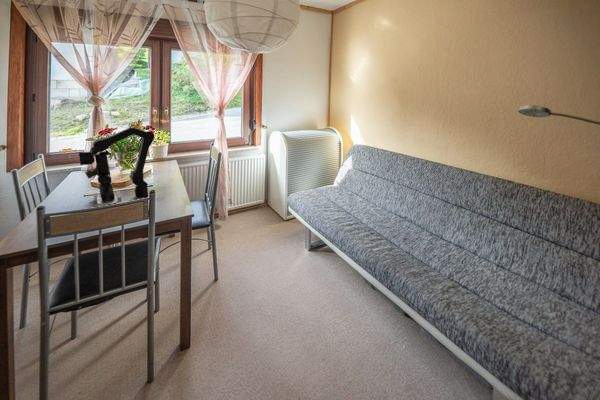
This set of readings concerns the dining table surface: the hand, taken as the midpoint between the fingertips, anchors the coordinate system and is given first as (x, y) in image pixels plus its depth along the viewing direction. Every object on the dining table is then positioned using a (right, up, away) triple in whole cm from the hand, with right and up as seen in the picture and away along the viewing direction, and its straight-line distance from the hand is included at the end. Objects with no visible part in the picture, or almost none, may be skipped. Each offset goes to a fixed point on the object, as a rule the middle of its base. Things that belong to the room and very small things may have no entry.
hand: (106, 190), depth 190 cm
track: (0, -6, +2) cm, 6 cm away
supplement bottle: (0, -5, +2) cm, 5 cm away
